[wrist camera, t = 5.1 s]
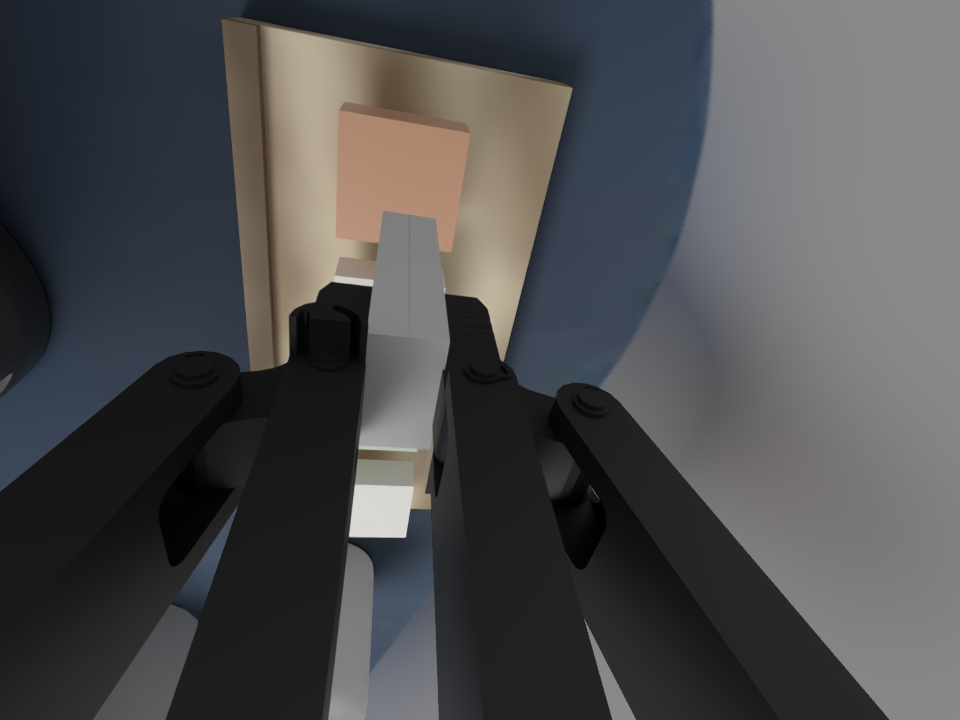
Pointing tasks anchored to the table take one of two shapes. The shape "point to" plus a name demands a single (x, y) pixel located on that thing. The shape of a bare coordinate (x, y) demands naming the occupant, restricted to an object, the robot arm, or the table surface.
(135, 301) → the table surface
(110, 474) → the robot arm
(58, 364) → the table surface
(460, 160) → the key terracotta
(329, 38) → the keypad board
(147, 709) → the cup
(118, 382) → the table surface
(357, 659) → the pill bottle
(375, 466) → the white key
